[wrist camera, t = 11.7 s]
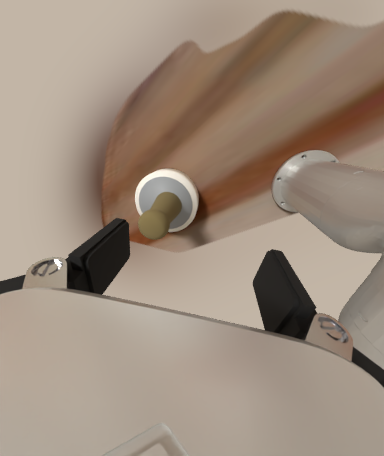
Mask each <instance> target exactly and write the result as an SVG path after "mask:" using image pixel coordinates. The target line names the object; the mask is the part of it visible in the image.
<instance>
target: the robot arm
mask: <svg viewBox="0 0 384 456" xmlns="http://www.w3.org/2000/svg"><path fill="white" fill-rule="evenodd" d="M302 155H303V157H302ZM301 157H302V158H301ZM277 178H279V179H278V180H277ZM272 195H273V198H274V200H275V202H276V203H277V204H278V205H279V206H280V207H281V208H283V209H284V210H287V211H290V212H299V213H300V214H302V215H303V216H304V217H305V218H306V219H308V220H309V221H310V222H311V223H312V224H314V225H315V226H316V227H317V228H318V229H320V230H321V231H322V232H323V233H324V234H326V235H327V236H328V237H329V238H331V239H332V240H333V241H334V242H336V243H337V244H339V245H341V246H343V247H345V248H347V249H351V250H354V251H359V252H366V253H382V256H381V258H380V260H379V261H378V263H377V264H376V265H375V267H374V268H373V269H372V271H371V273H370V275H369V276H368V277H367V278H366V279H365V281H364V282H363V283H362V284H361V285H360V287H359V288H358V289H357V290H356V292H355V293H354V294H353V295H352V297H351V298H350V299H349V301H348V302H347V303H346V305H345V306H344V308H343V309H342V311H341V313H340V316H339V321H337V320H336V319H334V318H332V317H331V316H329V315H326V314H322V313H319V314H317V312H316V310H315V308H316V306H315V305H314V303H313V301H312V300H311V298H310V297H309V295H308V293H307V291H306V290H305V288H304V287H303V285H302V283H301V282H300V280H299V278H298V277H297V275H296V274H295V272H294V270H293V269H292V267H291V265H290V264H289V262H288V260H287V259H286V257H285V256H284V254H283V252H281V251H278V250H273V249H272V250H270V251H268V252H267V253H266V255H265V257H264V259H263V261H262V263H261V265H260V267H259V270H258V272H257V274H256V276H255V278H254V280H253V287H254V290H255V294H256V298H257V302H258V305H259V309H260V313H261V317H262V321H263V324H264V328H265V330H261V329H257V328H252V327H248V326H243V325H239V324H235V323H230V322H225V321H221V320H217V319H212V318H207V317H203V316H199V315H194V314H190V313H185V312H180V311H176V310H171V309H167V308H162V307H157V306H153V305H148V304H143V303H138V302H134V301H129V300H125V299H120V298H115V297H110V296H106V295H102V294H103V293H104V291H105V290H106V289H107V287H108V286H109V285H110V283H111V282H112V281H113V279H114V278H115V277H116V275H117V274H118V272H119V271H120V270H121V268H122V267H123V266H124V264H125V263H126V262H127V260H128V259H129V256H130V244H129V243H130V242H129V224H128V222H126V220H124V219H119V218H116V219H114V220H113V221H112V222H110V223H109V224H108V225H107V226H105V227H104V228H103V229H101V230H100V231H99V232H97V233H96V234H95V235H94V236H92V237H91V238H90V239H89V240H87V241H86V242H85V243H83V244H82V245H81V246H79V247H78V248H77V249H75V250H74V251H73V252H72V253H70V254H69V257H68V258H67V259H63V258H59V257H53V258H47V259H43V260H41V261H38V262H36V263H35V264H33V265H32V266H31V267H30V268H29V269H28V270H27V273H26V275H23V276H19V277H16V278H12V279H8V280H4V281H0V456H384V171H381V170H376V169H370V168H364V167H358V166H352V165H347V164H341V163H339V161H338V159H337V158H336V157H335V156H334V155H332V154H330V153H329V152H325V151H320V150H309V151H305V152H301V153H299V154H296V155H295V156H293V157H291V158H290V159H288V160H287V161H286V162H285V163H284V164H283V165H282V166H281V167H280V168H279V170H278V171H277V173H276V174H275V177H274V179H273V183H272ZM281 202H282V203H281Z"/></svg>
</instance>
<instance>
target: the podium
mask: <svg viewBox="0 0 384 456" xmlns="http://www.w3.org/2000/svg"><path fill="white" fill-rule="evenodd" d="M163 192H171V193H174V194H175V195H177V196H178V198H179V199H180V201H181V203H182V209H181V212H180V213H179V215H178V216H177V217H176V218H175V219H174V220H173V221H172V222H171V223H170V228H169V231H168V232H176V231H179V230H182V229H184V228H186V227H187V226H188V225H189V224H190V223H191V222H192V221H193V219H194V217H195V215H196V211H197V208H198V204H199V194H198V190H197V187H196V185H195V183H194V182H193V181H192V179H191V178H190V177H189V176H188V175H186V174H185V173H183V172H182V171H179V170H177V169H172V168H164V169H160V170H157V171H155V172H153V173H151V174H149V175H147V176H146V177H144V178H143V179H142V180H141V182H140V183H139V185H138V187H137V189H136V193H135V203H136V207H137V210H138V212H139V214H140V216H141V215H142V214H143V213H144V212H145V211H147V210H150V208H151V207H152V205H153V203H154V201H155V199H156V198H157V196H158V195H159V194H160V193H163Z"/></svg>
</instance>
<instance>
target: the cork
mask: <svg viewBox="0 0 384 456" xmlns="http://www.w3.org/2000/svg"><path fill="white" fill-rule="evenodd" d="M181 209H182V203H181V201H180V199H179V198H178V196H177V195H175V194H174V193H171V192H163V193H160V194H159V195H158V196H157V198H156V199H155V201H154V203H153V205H152V207H151V208H150V210H147V211H145V212H144V213H143V214H142V215H141V216H140V218H139V221H138V226H139V230H140V231H141V233H142V234H143V235H144V236H145V237H147V238H149V239H161V238H162V237H164V236H165V235H166V234H167V233H168V231H169V228H170V223H171V222H172V221H173V220H174V219H175V218H176V217H177V216H178V215H179V213H180V212H181Z"/></svg>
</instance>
